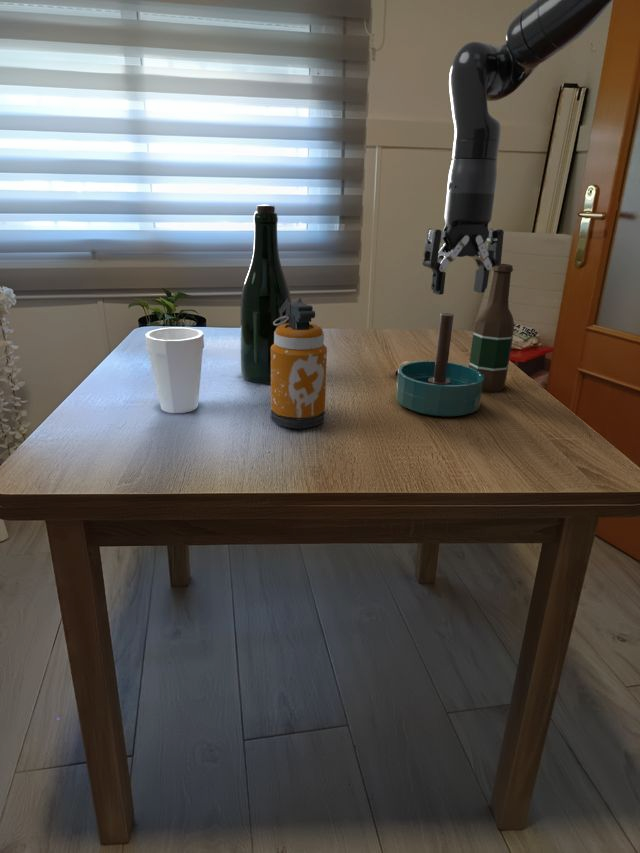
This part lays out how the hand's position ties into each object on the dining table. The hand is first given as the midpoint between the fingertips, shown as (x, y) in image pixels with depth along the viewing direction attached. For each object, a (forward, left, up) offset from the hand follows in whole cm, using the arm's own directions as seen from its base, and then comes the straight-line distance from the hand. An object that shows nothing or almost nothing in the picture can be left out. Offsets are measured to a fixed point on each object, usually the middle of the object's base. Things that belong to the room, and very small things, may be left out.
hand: (458, 292), depth 98 cm
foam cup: (+35, +33, -21) cm, 52 cm away
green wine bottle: (+35, +10, -21) cm, 42 cm away
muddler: (+1, +1, -20) cm, 20 cm away
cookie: (+11, -11, -21) cm, 26 cm away
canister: (+16, +24, -21) cm, 36 cm away
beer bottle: (-2, -15, -21) cm, 25 cm away
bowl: (+1, +1, -20) cm, 20 cm away
